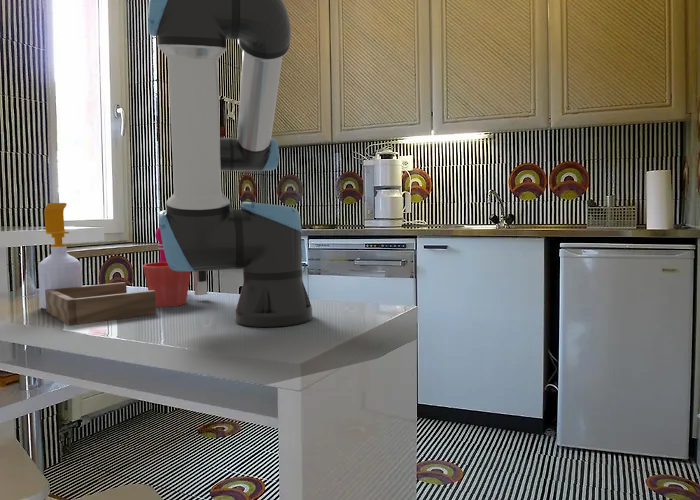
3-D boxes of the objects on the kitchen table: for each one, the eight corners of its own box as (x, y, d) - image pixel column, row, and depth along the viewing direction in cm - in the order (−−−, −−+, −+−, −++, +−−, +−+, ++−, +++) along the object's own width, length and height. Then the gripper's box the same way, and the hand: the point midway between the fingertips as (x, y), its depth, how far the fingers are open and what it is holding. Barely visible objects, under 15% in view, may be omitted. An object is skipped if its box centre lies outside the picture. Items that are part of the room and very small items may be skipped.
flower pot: (193, 306, 137) (191, 264, 136) (143, 309, 134) (141, 266, 133) (192, 299, 147) (191, 260, 146) (146, 302, 144) (144, 262, 143)
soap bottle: (45, 311, 134) (39, 203, 132) (37, 306, 141) (30, 203, 139) (87, 306, 140) (81, 202, 138) (77, 302, 147) (71, 203, 145)
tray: (156, 313, 128) (155, 290, 127) (69, 325, 117) (67, 300, 117) (125, 302, 144) (124, 282, 144) (46, 311, 134) (45, 289, 133)
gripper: (223, 197, 141) (226, 295, 142) (200, 198, 151) (204, 290, 153) (192, 197, 136) (197, 299, 138) (172, 199, 146) (176, 293, 148)
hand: (201, 294), depth 145 cm, fingers closed
